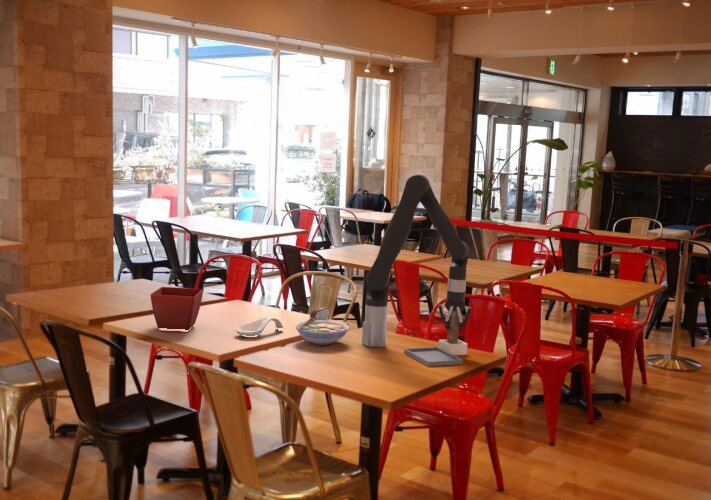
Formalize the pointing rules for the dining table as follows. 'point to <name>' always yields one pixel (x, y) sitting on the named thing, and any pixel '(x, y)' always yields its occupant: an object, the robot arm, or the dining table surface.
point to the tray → (433, 356)
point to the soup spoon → (320, 314)
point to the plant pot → (176, 307)
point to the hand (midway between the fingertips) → (453, 330)
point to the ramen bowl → (321, 331)
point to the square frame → (454, 347)
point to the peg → (453, 328)
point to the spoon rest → (257, 326)
